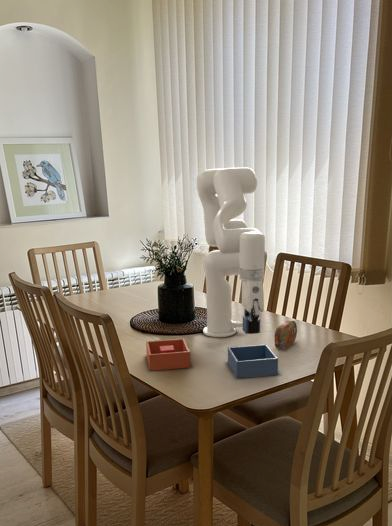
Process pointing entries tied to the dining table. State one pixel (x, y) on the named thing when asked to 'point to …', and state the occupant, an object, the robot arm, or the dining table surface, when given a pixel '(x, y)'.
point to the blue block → (245, 324)
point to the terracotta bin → (168, 355)
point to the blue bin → (252, 361)
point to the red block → (167, 349)
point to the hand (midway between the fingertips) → (251, 330)
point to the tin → (285, 335)
